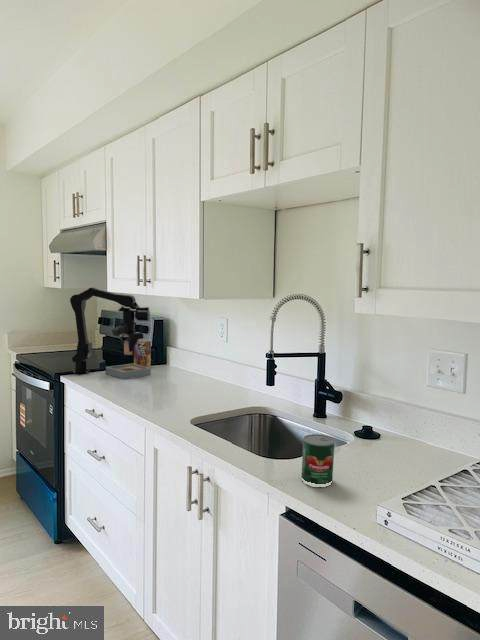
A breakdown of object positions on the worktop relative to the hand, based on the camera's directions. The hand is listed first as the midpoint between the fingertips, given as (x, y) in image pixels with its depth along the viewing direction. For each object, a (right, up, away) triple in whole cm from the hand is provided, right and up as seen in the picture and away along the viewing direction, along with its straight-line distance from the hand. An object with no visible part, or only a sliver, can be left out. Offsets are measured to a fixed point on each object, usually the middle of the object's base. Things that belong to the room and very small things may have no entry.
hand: (128, 351), depth 238 cm
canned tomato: (+76, -26, -117) cm, 142 cm away
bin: (0, -12, +1) cm, 12 cm away
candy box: (+3, -11, +19) cm, 22 cm away
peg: (0, -2, 0) cm, 2 cm away
